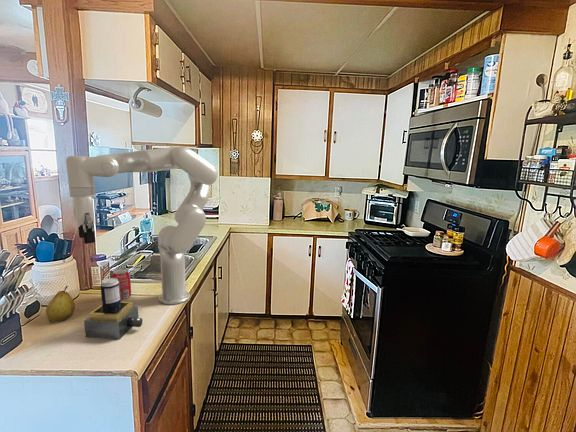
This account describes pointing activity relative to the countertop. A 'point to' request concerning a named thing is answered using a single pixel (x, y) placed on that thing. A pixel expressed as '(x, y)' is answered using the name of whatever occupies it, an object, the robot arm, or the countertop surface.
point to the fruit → (60, 306)
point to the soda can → (123, 282)
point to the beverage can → (110, 295)
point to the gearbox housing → (112, 322)
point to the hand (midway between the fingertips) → (87, 240)
